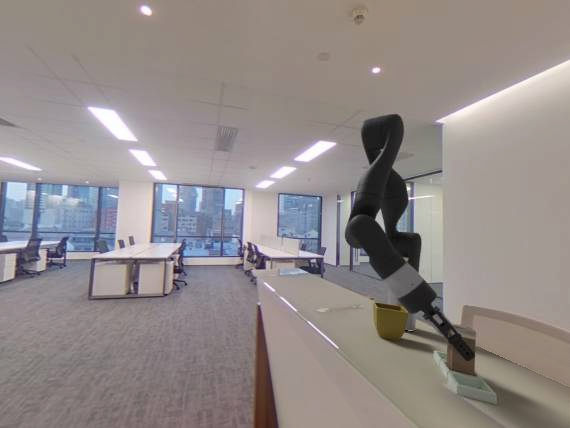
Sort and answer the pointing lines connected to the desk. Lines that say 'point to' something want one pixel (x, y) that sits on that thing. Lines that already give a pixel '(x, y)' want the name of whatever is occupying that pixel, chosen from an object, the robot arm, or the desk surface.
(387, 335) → the flower pot
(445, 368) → the tray
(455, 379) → the tray
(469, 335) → the brown wooden block
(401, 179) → the robot arm
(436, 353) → the tray
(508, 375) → the desk surface
